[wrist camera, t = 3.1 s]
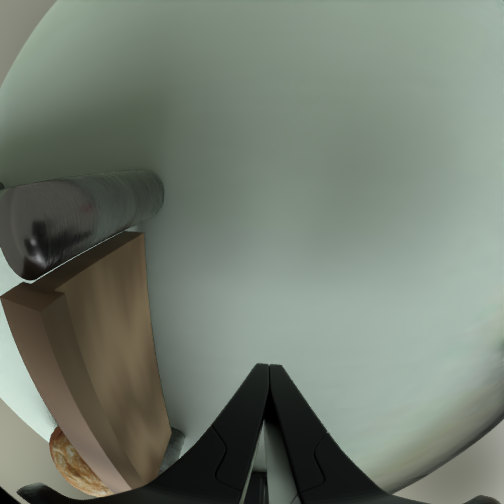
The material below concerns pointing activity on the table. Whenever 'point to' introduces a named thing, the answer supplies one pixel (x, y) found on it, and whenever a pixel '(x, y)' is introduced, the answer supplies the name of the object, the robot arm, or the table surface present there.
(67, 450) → the bread roll
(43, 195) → the gate frame
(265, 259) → the table surface
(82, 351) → the gate
